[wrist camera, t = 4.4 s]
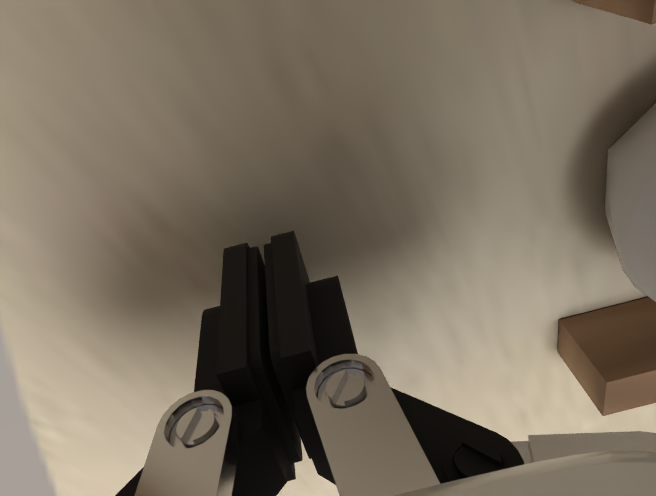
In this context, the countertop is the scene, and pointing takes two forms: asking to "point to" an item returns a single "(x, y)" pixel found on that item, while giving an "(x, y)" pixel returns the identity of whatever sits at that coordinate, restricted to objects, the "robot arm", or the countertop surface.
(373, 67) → the countertop surface
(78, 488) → the countertop surface
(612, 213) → the salt shaker
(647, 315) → the chute
